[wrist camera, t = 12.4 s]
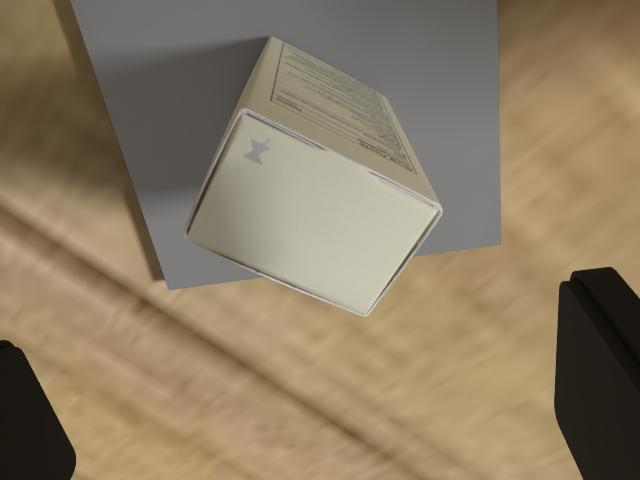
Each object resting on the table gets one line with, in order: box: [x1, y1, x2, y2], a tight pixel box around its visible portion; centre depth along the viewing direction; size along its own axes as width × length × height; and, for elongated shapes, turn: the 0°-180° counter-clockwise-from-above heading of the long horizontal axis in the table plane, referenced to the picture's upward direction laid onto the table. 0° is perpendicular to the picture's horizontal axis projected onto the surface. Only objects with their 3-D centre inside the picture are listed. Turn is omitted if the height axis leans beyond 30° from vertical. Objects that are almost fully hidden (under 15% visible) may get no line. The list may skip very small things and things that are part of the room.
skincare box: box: [183, 36, 443, 317], centre depth 21 cm, size 6×4×12 cm
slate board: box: [70, 0, 501, 290], centre depth 27 cm, size 18×16×1 cm
